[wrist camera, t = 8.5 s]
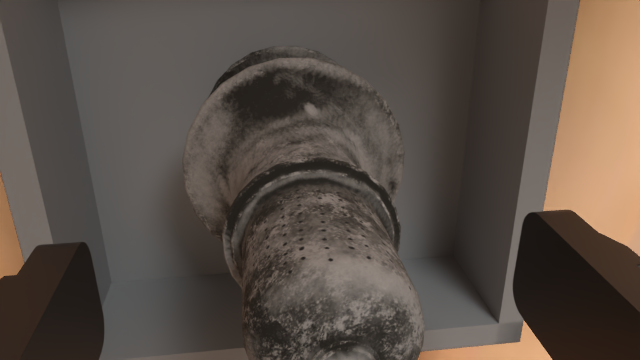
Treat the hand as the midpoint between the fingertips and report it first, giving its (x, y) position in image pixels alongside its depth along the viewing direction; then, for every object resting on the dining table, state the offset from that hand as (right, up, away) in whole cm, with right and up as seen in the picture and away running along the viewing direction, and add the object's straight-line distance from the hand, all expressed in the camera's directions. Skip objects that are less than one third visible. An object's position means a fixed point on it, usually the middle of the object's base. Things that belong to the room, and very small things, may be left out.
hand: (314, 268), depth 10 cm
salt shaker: (-1, +3, +8) cm, 9 cm away
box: (-1, +3, +8) cm, 9 cm away
